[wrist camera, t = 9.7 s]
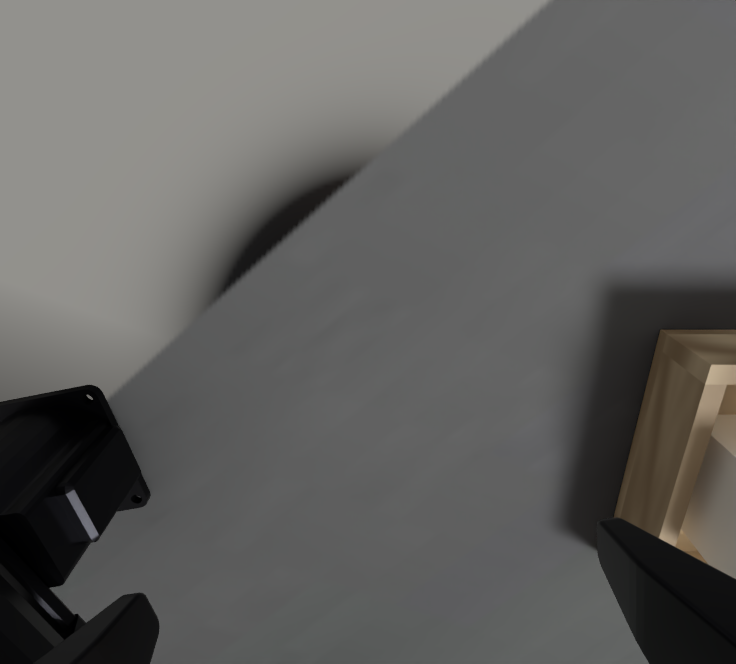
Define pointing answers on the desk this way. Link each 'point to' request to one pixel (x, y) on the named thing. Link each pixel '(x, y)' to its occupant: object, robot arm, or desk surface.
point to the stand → (716, 500)
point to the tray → (677, 429)
